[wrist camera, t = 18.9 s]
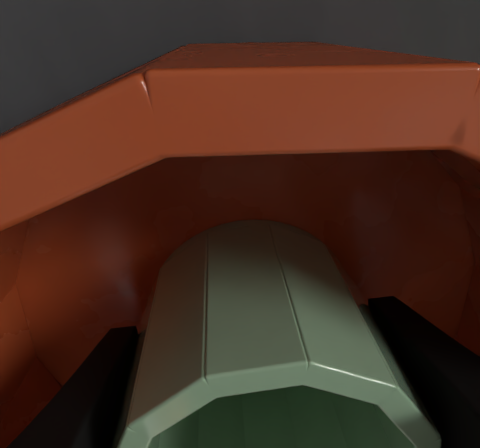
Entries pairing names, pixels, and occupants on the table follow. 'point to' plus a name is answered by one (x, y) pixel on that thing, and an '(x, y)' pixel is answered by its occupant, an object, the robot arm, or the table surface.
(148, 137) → the pan
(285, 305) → the container
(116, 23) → the table surface
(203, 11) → the table surface
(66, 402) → the robot arm
